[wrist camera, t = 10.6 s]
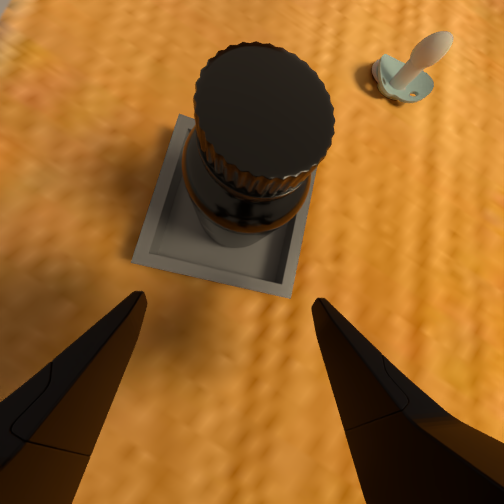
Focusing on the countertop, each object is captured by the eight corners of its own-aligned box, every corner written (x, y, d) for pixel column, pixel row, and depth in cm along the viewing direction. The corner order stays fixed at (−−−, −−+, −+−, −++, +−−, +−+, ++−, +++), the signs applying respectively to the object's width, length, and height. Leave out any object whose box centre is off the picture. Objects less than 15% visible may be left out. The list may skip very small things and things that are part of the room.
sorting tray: (280, 294, 18) (290, 298, 16) (144, 263, 16) (130, 262, 14) (305, 175, 20) (317, 162, 17) (184, 135, 18) (179, 113, 15)
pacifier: (366, 57, 23) (362, 96, 22) (419, -20, 17) (416, 29, 16) (414, 78, 24) (412, 116, 23) (480, 12, 18) (480, 60, 17)
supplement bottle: (185, 229, 17) (101, 131, 5) (219, 168, 18) (218, -33, 6) (252, 262, 17) (320, 247, 6) (281, 201, 18) (388, 83, 7)
